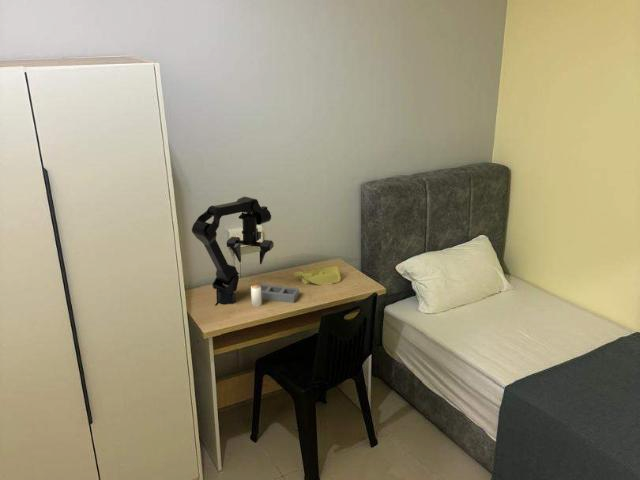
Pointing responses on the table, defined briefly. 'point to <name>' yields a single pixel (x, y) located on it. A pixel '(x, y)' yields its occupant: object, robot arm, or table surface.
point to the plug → (256, 295)
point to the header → (279, 293)
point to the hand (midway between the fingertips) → (250, 263)
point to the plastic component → (320, 276)
